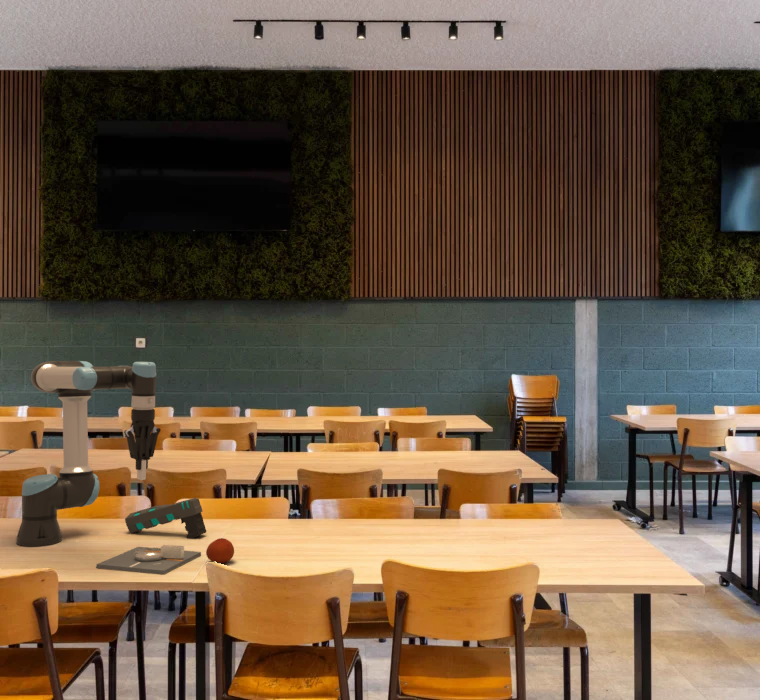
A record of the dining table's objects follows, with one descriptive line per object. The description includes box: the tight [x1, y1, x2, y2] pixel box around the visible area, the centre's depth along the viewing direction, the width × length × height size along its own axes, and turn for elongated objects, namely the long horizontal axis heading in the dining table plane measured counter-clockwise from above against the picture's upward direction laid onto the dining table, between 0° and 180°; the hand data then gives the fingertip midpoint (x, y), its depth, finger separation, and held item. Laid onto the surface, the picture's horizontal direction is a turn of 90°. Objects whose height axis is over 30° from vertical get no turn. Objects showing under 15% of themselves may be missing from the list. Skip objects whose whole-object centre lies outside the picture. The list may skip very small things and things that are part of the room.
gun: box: [124, 497, 207, 540], centre depth 305 cm, size 7×29×15 cm, turn 76°
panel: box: [96, 546, 202, 575], centre depth 267 cm, size 24×24×1 cm
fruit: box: [205, 537, 235, 564], centre depth 267 cm, size 9×9×8 cm
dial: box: [134, 544, 185, 562], centre depth 266 cm, size 16×10×4 cm, turn 83°
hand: (141, 479), depth 271 cm, fingers closed
